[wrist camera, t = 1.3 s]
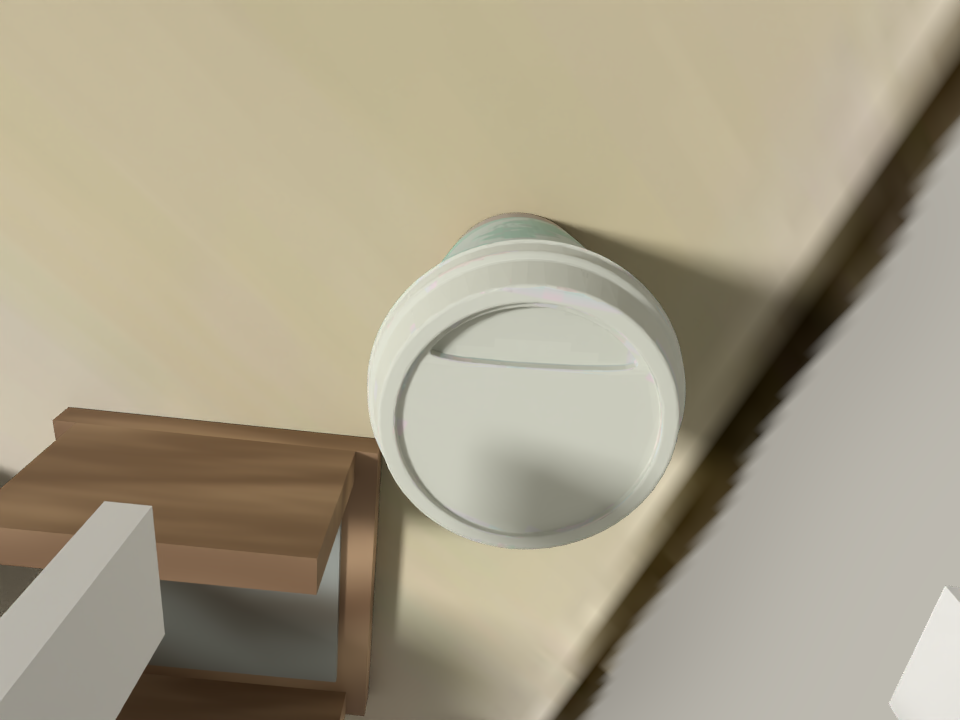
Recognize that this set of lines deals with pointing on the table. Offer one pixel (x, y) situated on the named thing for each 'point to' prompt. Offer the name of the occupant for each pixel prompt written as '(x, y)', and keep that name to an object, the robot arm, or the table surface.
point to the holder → (224, 555)
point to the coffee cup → (526, 388)
